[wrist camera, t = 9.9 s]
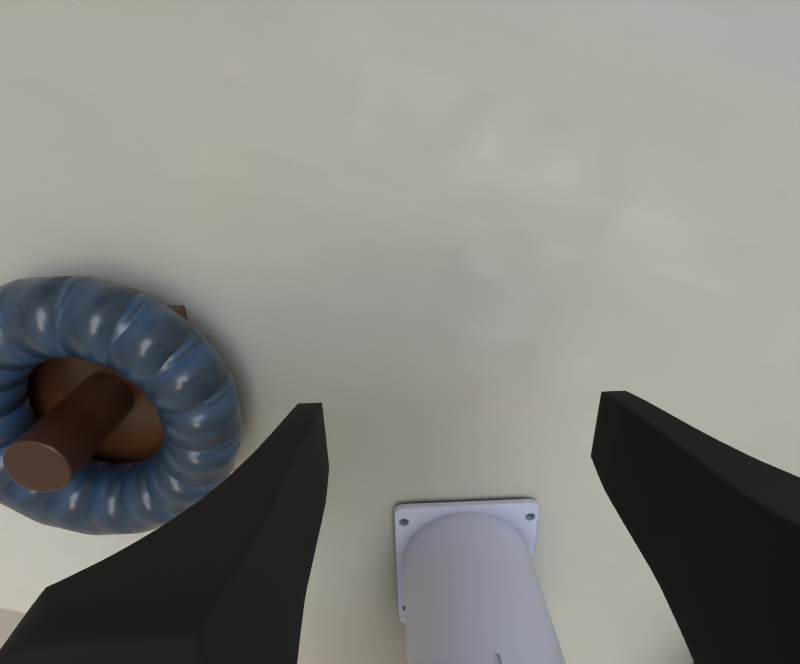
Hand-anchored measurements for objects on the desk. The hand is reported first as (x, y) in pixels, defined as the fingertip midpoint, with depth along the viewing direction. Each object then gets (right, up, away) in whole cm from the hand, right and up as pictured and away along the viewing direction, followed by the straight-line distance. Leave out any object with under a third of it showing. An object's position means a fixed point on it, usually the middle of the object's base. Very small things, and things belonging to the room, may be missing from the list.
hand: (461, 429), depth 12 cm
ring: (-15, -1, +8) cm, 17 cm away
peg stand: (-15, 0, +11) cm, 19 cm away
